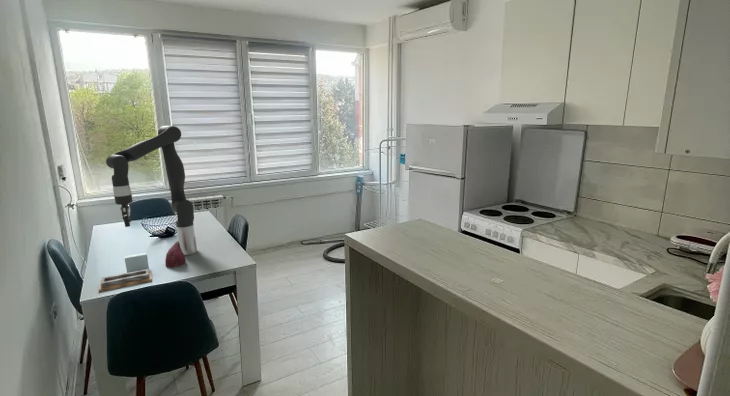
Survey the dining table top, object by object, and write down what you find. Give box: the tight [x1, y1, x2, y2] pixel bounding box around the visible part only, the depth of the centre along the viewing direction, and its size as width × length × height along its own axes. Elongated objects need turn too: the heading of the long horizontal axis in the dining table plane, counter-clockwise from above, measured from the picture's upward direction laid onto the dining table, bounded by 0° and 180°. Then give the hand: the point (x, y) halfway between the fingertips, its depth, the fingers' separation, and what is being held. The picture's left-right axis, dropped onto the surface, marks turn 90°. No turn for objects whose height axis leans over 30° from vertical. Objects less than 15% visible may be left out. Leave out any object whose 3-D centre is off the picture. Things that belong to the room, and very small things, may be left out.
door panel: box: [124, 252, 150, 273], centre depth 198 cm, size 10×3×9 cm, turn 120°
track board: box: [98, 268, 153, 292], centre depth 186 cm, size 22×12×3 cm, turn 121°
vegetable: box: [164, 240, 187, 269], centre depth 207 cm, size 10×10×15 cm
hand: (128, 224), depth 193 cm, fingers open, 8 cm apart
